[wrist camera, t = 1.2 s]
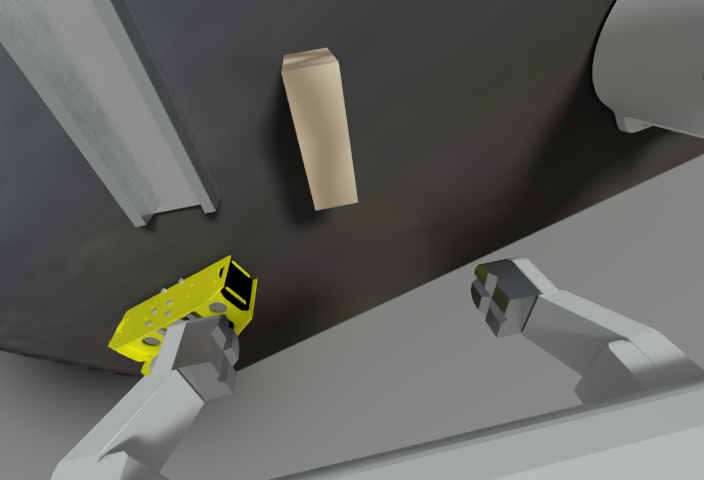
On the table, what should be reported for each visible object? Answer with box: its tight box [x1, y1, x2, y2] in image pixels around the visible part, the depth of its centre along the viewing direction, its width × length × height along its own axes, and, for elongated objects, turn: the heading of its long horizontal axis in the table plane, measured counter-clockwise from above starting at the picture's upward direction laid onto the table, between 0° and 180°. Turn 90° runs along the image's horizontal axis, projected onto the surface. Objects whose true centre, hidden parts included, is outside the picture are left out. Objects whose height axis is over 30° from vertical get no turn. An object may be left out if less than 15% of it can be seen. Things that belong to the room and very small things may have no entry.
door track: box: [0, 0, 222, 227], centre depth 23 cm, size 8×20×3 cm, turn 8°
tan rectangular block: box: [281, 48, 358, 210], centre depth 24 cm, size 4×10×8 cm, turn 7°
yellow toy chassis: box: [108, 255, 257, 376], centre depth 35 cm, size 16×6×8 cm, turn 118°
